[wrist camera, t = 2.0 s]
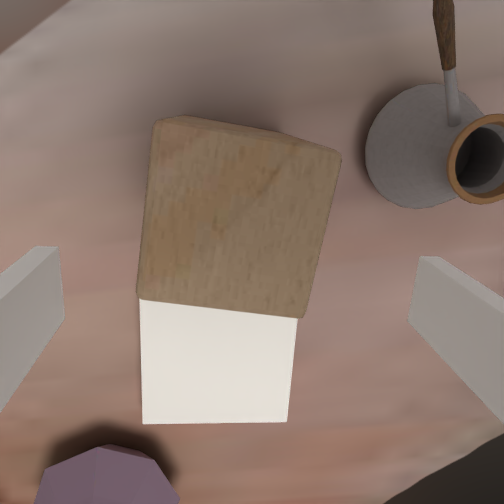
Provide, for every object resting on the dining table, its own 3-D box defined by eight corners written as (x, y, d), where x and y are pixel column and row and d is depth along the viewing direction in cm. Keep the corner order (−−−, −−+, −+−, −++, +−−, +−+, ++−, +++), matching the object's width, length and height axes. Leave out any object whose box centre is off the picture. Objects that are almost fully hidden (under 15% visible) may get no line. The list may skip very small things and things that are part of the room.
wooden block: (167, 217, 43) (133, 302, 24) (180, 113, 40) (152, 117, 21) (264, 231, 44) (305, 322, 25) (283, 132, 41) (346, 152, 22)
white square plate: (294, 281, 46) (300, 292, 43) (282, 404, 51) (286, 421, 48) (143, 278, 44) (139, 289, 42) (146, 406, 49) (142, 424, 46)
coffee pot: (480, 169, 44) (608, 197, 30) (380, 222, 45) (459, 273, 31) (409, -47, 37) (531, -143, 23) (292, 20, 38) (341, -33, 24)
